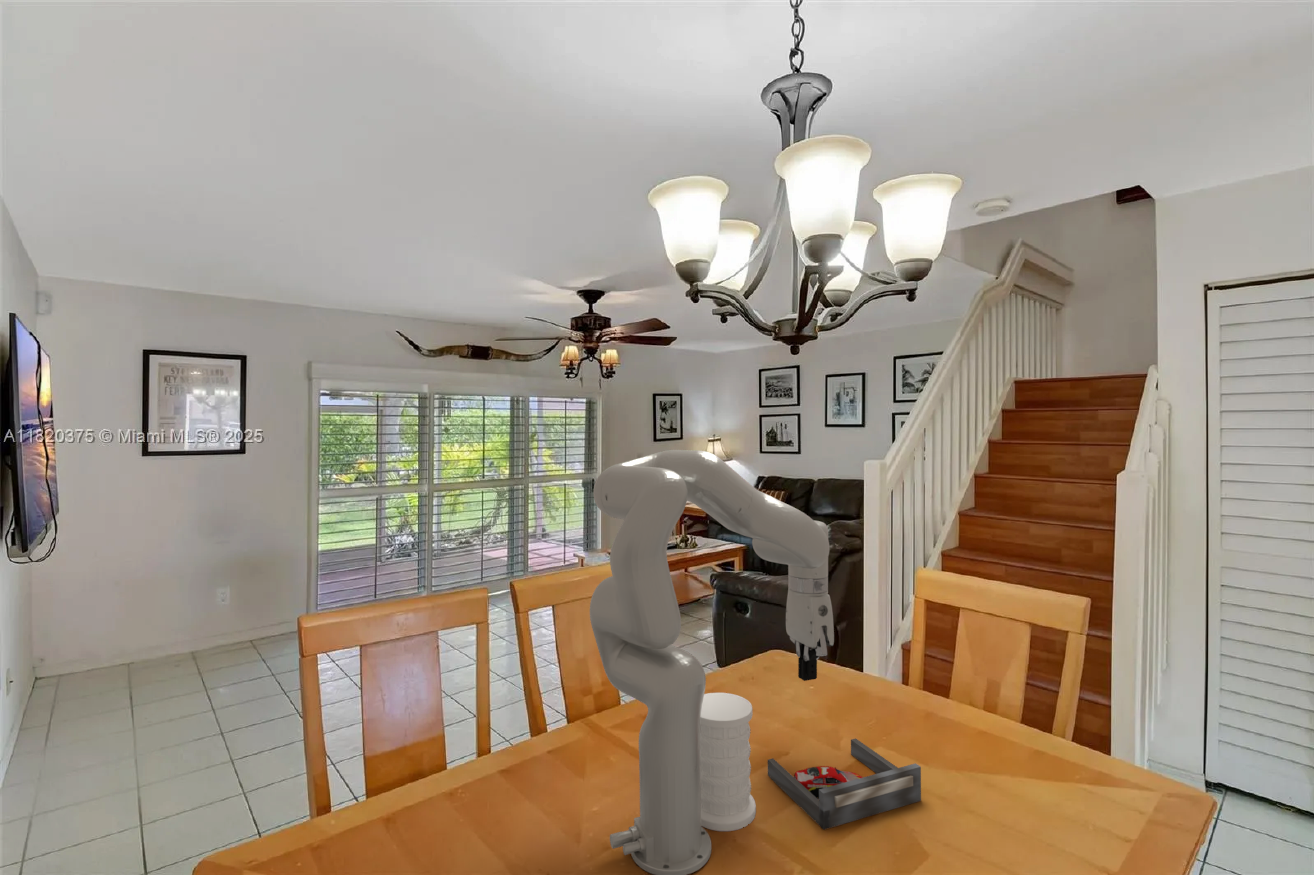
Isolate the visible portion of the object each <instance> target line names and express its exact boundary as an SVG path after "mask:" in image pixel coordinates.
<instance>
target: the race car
mask: <svg viewBox="0 0 1314 875" xmlns="http://www.w3.org/2000/svg"><path fill="white" fill-rule="evenodd" d="M793 774H794V775H793V777H794V778H795V779H796V780H797V781H799V782H800V783H801V784H802V785H803V786H804V787H805V788H806V789H807V790H808V791H810V792H811V793H812V794H813V795H814V796H815V797H816V798H817V799H818V800H819V789H822V788H826V787H830V786H833V785H837V784H841V783H845V782H848V781H852V780H856V779H859V778H863V776H862V775H860V774H858V773H856V772H852V771H846V770H845V771H844V770H840V769H838V768H837V767H836V766H835V767H833V766H828V765H826V766H825V765H820V766H811V767H807V768H804V769H801V770H797V771H795V773H793Z"/></svg>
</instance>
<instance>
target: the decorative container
mask: <svg viewBox="0 0 1314 875" xmlns="http://www.w3.org/2000/svg"><path fill="white" fill-rule="evenodd" d="M752 718H753V705H752V703H751V702H750V701H749V700H748V699H746V698H745V697H743V696H741V695H739V694H738V695H737V694H733V693H730V692H727V693H726V692H709V693H708V692H707V693H704V698H703V703H702V709H701V717H700V785H701V827H702V828H704V829H705V828H706V829H707V830H710V831H717V832H731V831H737V830H741V829H744V828H746V827H747V826H749V825H750V824H751V823H752V822H753V821H754V820H755V819H756V813H757V805H756V800H755V799H754V797H753V795H752V794H751V792H752V783H751V778H750V775H751V771H752V765H751V762H750V759H749V758H750V756H751V752H752V748H751V745H750V742H749V739H750V736H751V733H752V732H751V727H750V723H749V722H750V721H751V720H752ZM748 824H749V825H748ZM743 827H744V828H743Z"/></svg>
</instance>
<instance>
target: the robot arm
mask: <svg viewBox="0 0 1314 875" xmlns="http://www.w3.org/2000/svg"><path fill="white" fill-rule="evenodd" d="M593 498H594V499H593V500H594V502H595V505H596V506H597V508H598V509H599V510H600V512H602V513H603V514H604V515H605V516H608V517H610V518H613V519H618V520H623V521H622V523H621V525H620V526H619V529H618V530H617V533H616V534H615V537H614V539H613V542H612V545H611V548H610V554H609V564H610V570H611V575H612V576H609V577H606V578H605V579H603V580H602V581H601V582H599V584H598V585H597V586H596V588H595V589H594V591H593V593H592V596H591V599H590V603H589V604H590V605H589V620H590V624H591V628H592V633H593V636H594V639H595V642H596V646H597V650H598V653H599V657H600V659H601V663H602V666H603V670H604V673H605V675H606V677H607V679H608V681H609V683H610V684H611V685H612V686H613V687H614V688H615V689H617V691H619V692H622V693H623V694H625V695H627V696H629V697H631V698H633V699H635V700H637V701H638V702H640V703H642V704H644V705H645V706H646V707H647V715H646V716H645V719H644V721H643V722H642V724H641V727H640V729H639V736H638V756H639V758H638V760H639V761H638V763H639V764H638V765H639V767H638V770H639V816H637V817H634V818H633V821H634V822H633V824H634V825H632V826H629V827H628V829H627V830H624V831H617V832H614V833H611V834H609V842H610V847H611V849H614V850H615V849H616V848H620V847H622V851H623V855H624V856H626V855H630V854H631V858H632V860H633V862H634V863H635V864H636V865H637V866H638V867H639V868H640V869H642V870H644V871H645V872H647V873H649V874H652V875H690V874H692V873H694V872H697V871H699V870H700V869H701V868H702V867H704V866H705V865H706V863H707V862H708V860H710V857H711V854H712V839H711V837H710V834H709V833H708V831H707V830H706V829H705V828H704V827H702V826H701V785H700V717H701V709H702V703H703V698H704V694H705V691H706V684H707V683H706V682H707V680H706V679H707V678H706V672H705V669H704V667H703V665H702V664H701V662H700V661H699V659H697V658H696V657H695V656H694V655H693V654H691V653H690V652H688V651H686V650H685V649H683V648H680V647H679V646H678V647H677V646H674V645H673V644H674V643H675V642H677V640H678V638H679V636H680V633H681V629H682V618H681V617H682V616H681V611H680V608H679V603H678V599H677V594H676V591H675V587H674V583H673V579H672V574H671V572H670V567H669V563H668V554H667V550H668V544H669V540H670V537H671V535H672V533H673V531H674V529H675V527H676V524H677V523H678V521H679V520H680V518H681V516H682V515H683V513H684V510H685V508H686V504H687V502H690V503H692V504H694V505H695V506H696V507H698V508H699V509H701V510H702V511H704V513H706V514H707V515H709V516H710V517H712V518H713V519H714V520H715V521H717V522H718V523H719V524H721V525H722V526H723V527H724V528H726V529H727V530H729V531H731V532H734V533H736V534H739V535H741V536H745V537H748V538H752V540H751V543H752V548H753V550H754V552H755V554H756V555H757V556H758V557H759V558H760V559H762V560H764V561H767V562H771V563H775V564H781V565H787V566H788V567H787V569H788V570H787V572H788V574H787V576H788V583H787V585H788V587H787V588H788V590H787V597H786V608H785V630H786V634H787V636H789V640H790V642H792V643H793V644H794V646H795V650H796V655H797V657H798V658H797V659H798V660H797V662H798V664H797V665H798V670H797V672H798V673H797V675H798V679H800V680H802V681H804V682H805V681H806V682H807V681H812V680H816V679H817V678H818V660H819V659H820V657H824V656H828V648H827V646H828V647H833V646H834V643H835V632H834V631H835V630H834V629H835V628H834V615H833V614H834V613H833V605H832V600H831V596H830V594H828V593H829V555H830V550H831V549H830V541H829V528H828V526H827V524H826V523H825V522H823V521H819V520H814V519H813V518H811V517H810V516H809V515H807V513H805V512H803V511H801V510H799V509H798V508H795V507H794V506H792V505H790V504H787V503H785V502H783V501H781V500H779V499H778V498H775V497H774V496H771V495H769V494H767V493H765V492H762V491H760V490H758V489H757V488H755V487H754V486H753V485H752V484H751V483H749V482H748V481H747V480H746V479H745V478H744V477H742V476H741V475H740V474H739V473H737V471H736V470H734V469H733V468H732V467H731V466H729V464H727V463H726V462H725V461H724V460H723V459H721V457H719V456H718V455H716V454H715V453H712V452H709V451H705V450H691V449H689V450H686V449H685V450H684V449H670V450H669V449H667V450H664V451H659V452H656V453H651V454H648V455H644V456H641V457H638V458H634V459H631V460H626V461H623V462H620V463H615V464H613V465H611V466H609V467H607V468H606V469H604V470H603V471H602V472H601V473H600V474H599V475H598V477H597V478H596V481H595V484H594V486H593Z"/></svg>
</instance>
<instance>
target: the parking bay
mask: <svg viewBox="0 0 1314 875" xmlns="http://www.w3.org/2000/svg"><path fill="white" fill-rule="evenodd" d="M850 755H851V756H853V757H854V758H855V759H856V760H858V761H859V762H861V763H862V764H863V765H864V766H866V767H867V768H869V769H870V770H871V771H873V772H874V773H875V774H871V775H867V776H864V777H863V776H862V777H863V778H859V779H856V780H852V781H848V782H845V783H841V784H837V785H833V786H830V787H826V788H822V789H819V798H818V799H817V798H816V797H815V796H814V795H813V794H812V793H811V792H810V791H808V790H807V789H806V788H805V787H804V786H803V785H802V784H801V783H800V782H799V781H797V780H796V779H795V778H794V775H792V774H791V773H790V772H789V771H788V770H786V768H784V767H783V766H782V765H781V764H780V763H779V762H778V761H777V760H776V759H775V758H769V759H767V776H768V777H769V778H770V779H771V781H773V782H774V783H775V784H776V785H777V786H778V787H779V788H780V789H781V790H782V792H784V793H785V794H786V795H787V796H789V798H791V800H793V802H794V803H795V804H797V806H798V807H800V809H802V810H803V811H804V812H805V813H806V814H807V815H808V816H809V817H810V818H811V819H812V821H814V822H815V823H816V824H817V825H818V826H819V827H821V829H822V830H828V829H832V828H834V827H838V826H841V825H845V824H848V823H852V822H855V821H858V820H861V819H864V818H865V819H866V818H867V817H872V816H875V815H878V814H882V813H885V812H887V811H891V810H895V809H898V808H901V807H905V806H908V805H911V804H915V803H919V802H921V801H922V773H921V772H922V767H921V765H919V764H918V763H915V762H914V763H912V764H908V765H905V766H901V767H898V766H896V765H894V763H892V762H891V761H889V760H888V759H886V758H885V757H883V756H881V754H879V753H877V752H876V751H874V749H872V748H870V747H869V746H868V745H866V744H864V743H863V742H862V741H860V740H859V739H857V738H853V739H852V738H851V739H850Z"/></svg>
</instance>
